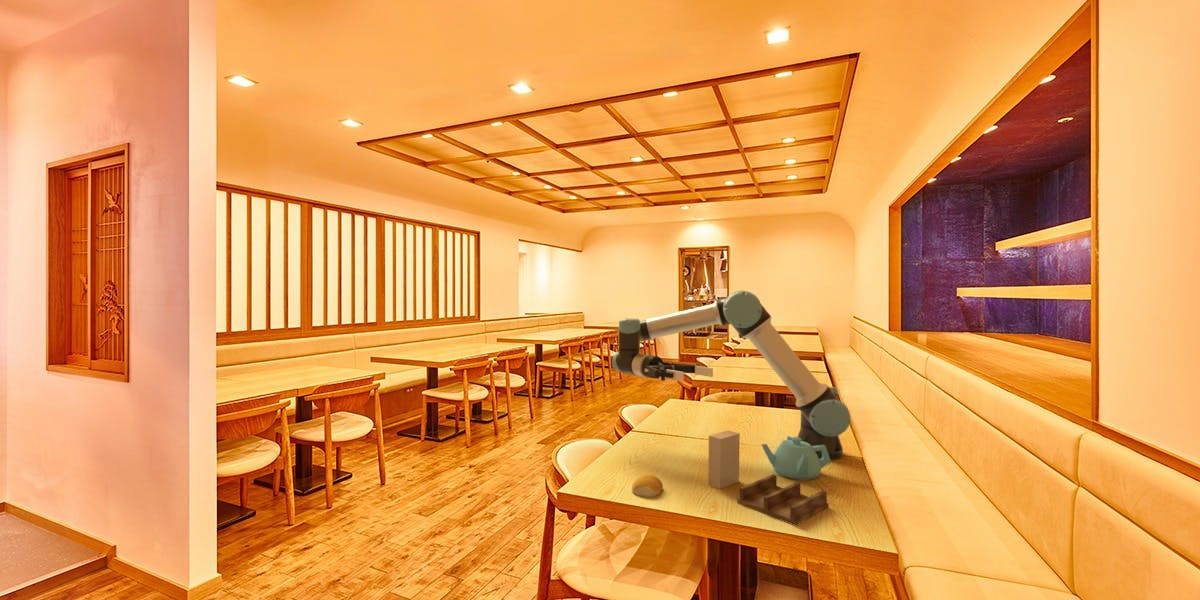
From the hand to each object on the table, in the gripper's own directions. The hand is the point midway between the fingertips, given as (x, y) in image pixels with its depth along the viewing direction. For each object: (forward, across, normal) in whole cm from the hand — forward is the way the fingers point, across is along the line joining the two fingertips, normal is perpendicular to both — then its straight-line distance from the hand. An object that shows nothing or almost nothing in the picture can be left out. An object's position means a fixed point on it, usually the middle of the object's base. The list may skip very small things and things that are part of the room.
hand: (698, 374), depth 146 cm
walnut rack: (+28, 0, -30) cm, 41 cm away
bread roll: (0, +21, -30) cm, 37 cm away
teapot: (+18, -24, -30) cm, 43 cm away
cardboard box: (+10, 0, -30) cm, 32 cm away
